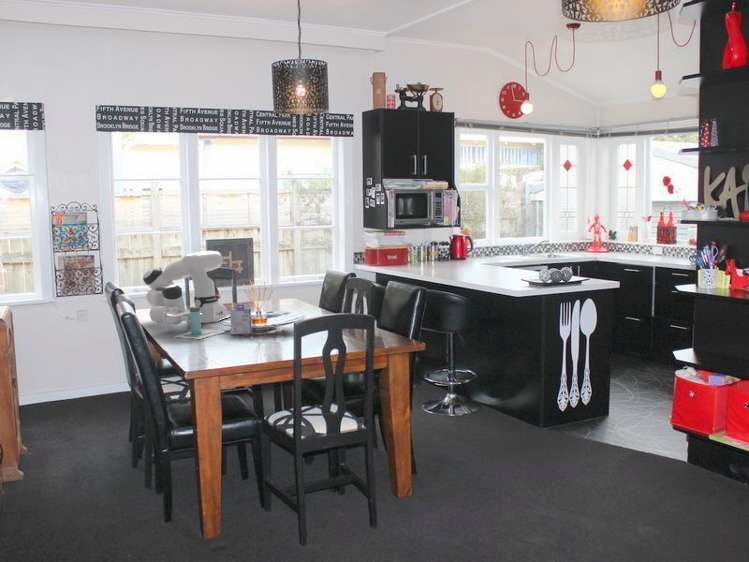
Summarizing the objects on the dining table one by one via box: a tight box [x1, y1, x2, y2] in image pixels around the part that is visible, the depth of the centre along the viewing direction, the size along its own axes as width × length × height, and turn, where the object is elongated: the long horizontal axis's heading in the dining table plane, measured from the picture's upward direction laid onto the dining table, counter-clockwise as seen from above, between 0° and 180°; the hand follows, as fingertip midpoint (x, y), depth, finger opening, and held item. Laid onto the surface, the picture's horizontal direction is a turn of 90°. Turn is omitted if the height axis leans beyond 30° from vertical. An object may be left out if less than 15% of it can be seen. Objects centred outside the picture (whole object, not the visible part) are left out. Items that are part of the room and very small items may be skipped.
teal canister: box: [189, 305, 202, 336], centre depth 367 cm, size 5×5×14 cm
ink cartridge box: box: [229, 304, 253, 335], centre depth 370 cm, size 10×6×14 cm, turn 90°
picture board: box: [174, 328, 226, 340], centre depth 370 cm, size 19×17×1 cm
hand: (195, 316), depth 367 cm, fingers open, 8 cm apart
